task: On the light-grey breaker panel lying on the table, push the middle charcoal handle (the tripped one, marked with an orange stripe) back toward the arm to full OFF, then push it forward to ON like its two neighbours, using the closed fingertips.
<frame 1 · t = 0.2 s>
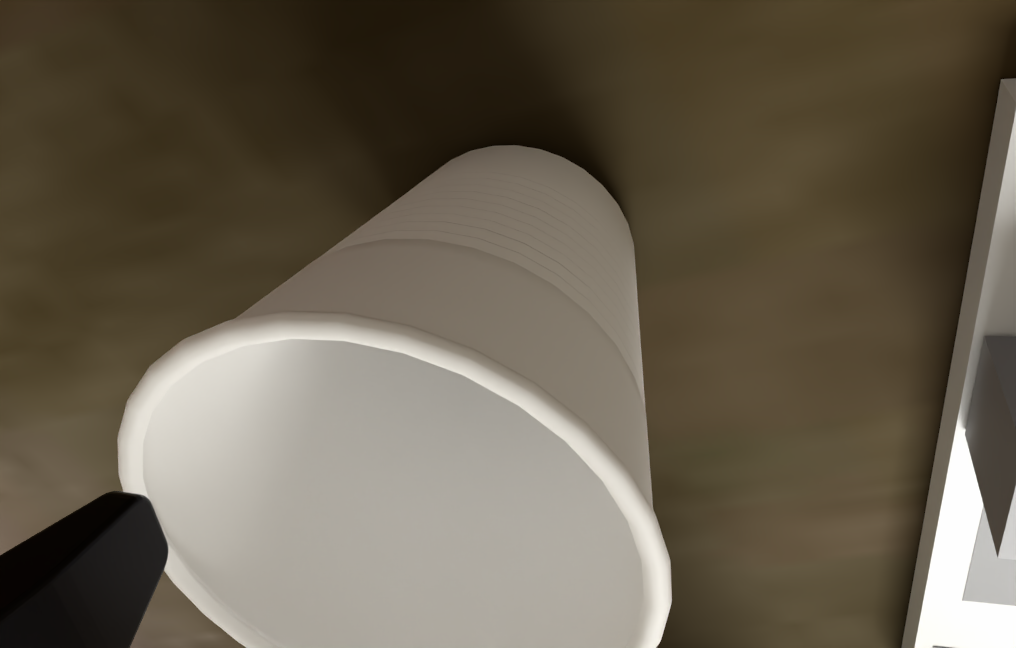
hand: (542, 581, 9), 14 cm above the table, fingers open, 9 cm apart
cup: (524, 241, 24), on the table
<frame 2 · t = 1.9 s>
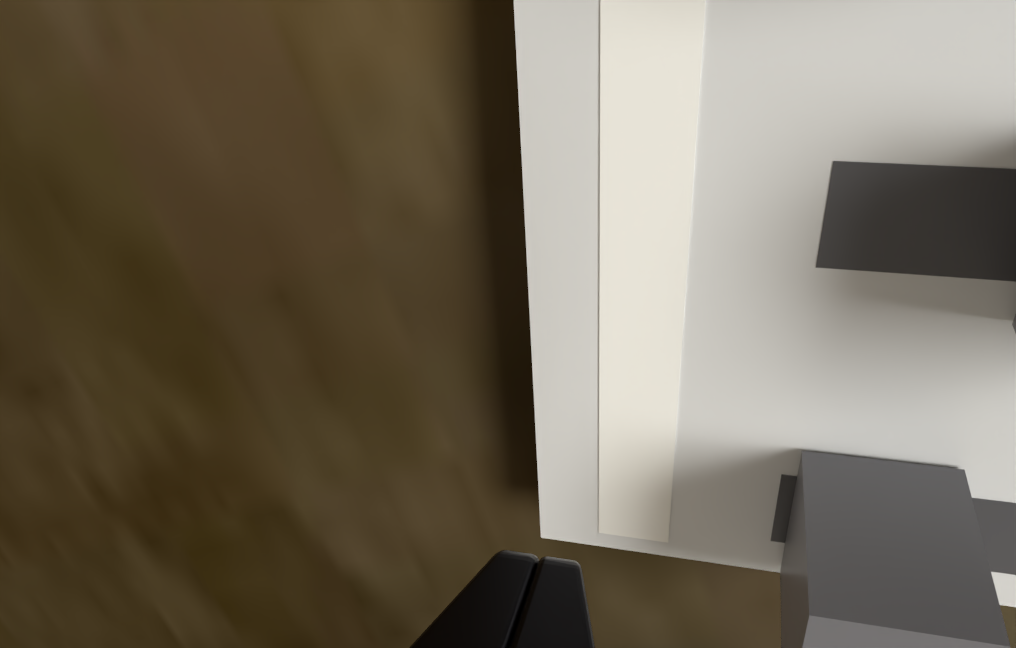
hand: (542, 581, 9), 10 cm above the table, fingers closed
breaker 2: (874, 601, 17), point 4 cm above the table, slide at 3.0 cm
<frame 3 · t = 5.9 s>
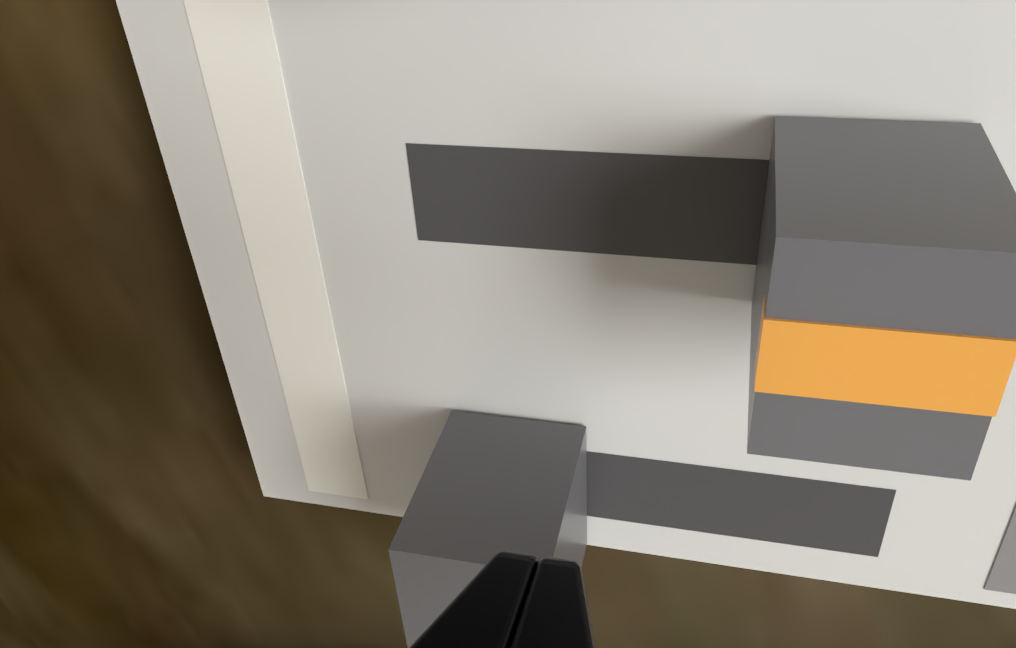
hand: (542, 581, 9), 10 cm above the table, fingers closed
breaker 2: (499, 545, 18), point 4 cm above the table, slide at 3.0 cm
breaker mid: (866, 286, 13), point 4 cm above the table, slide at -3.1 cm
panel: (677, 172, 17), on the table
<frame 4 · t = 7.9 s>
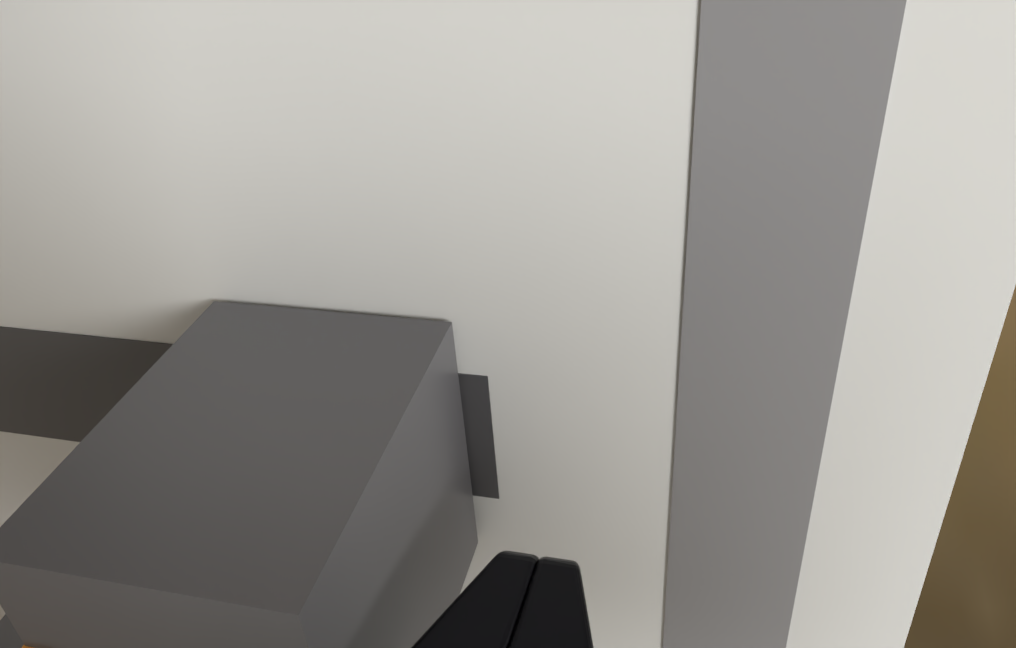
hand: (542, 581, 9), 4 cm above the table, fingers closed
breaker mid: (283, 549, 10), point 4 cm above the table, slide at -3.0 cm, touching gripper
panel: (210, 337, 13), on the table
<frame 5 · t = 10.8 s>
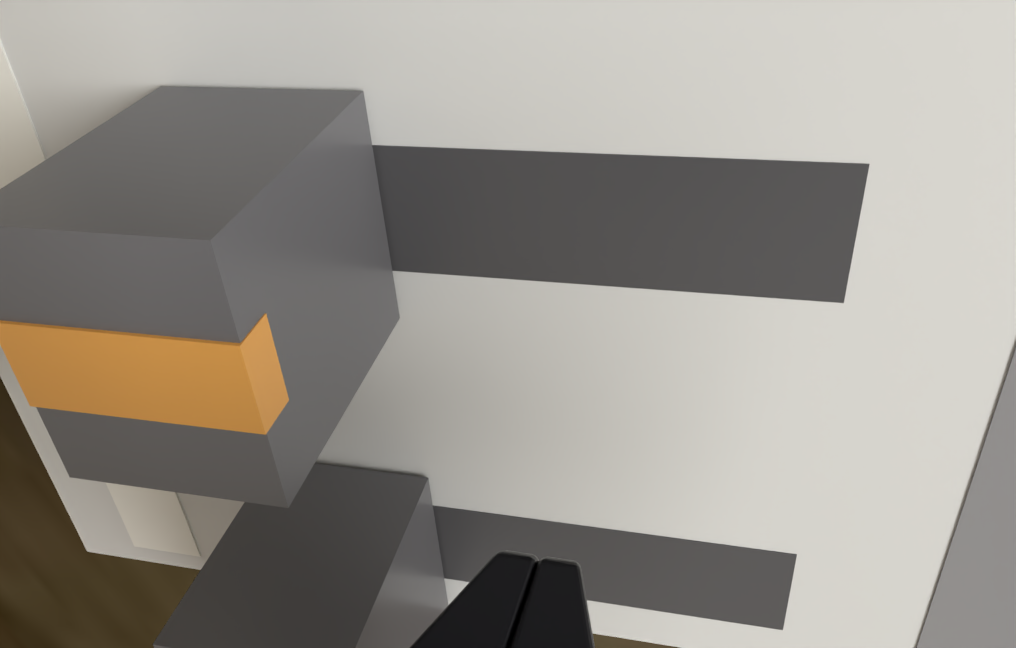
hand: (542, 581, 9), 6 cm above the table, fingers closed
breaker 2: (323, 623, 15), point 4 cm above the table, slide at 3.0 cm
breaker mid: (218, 281, 11), point 4 cm above the table, slide at 3.1 cm
panel: (514, 170, 13), on the table
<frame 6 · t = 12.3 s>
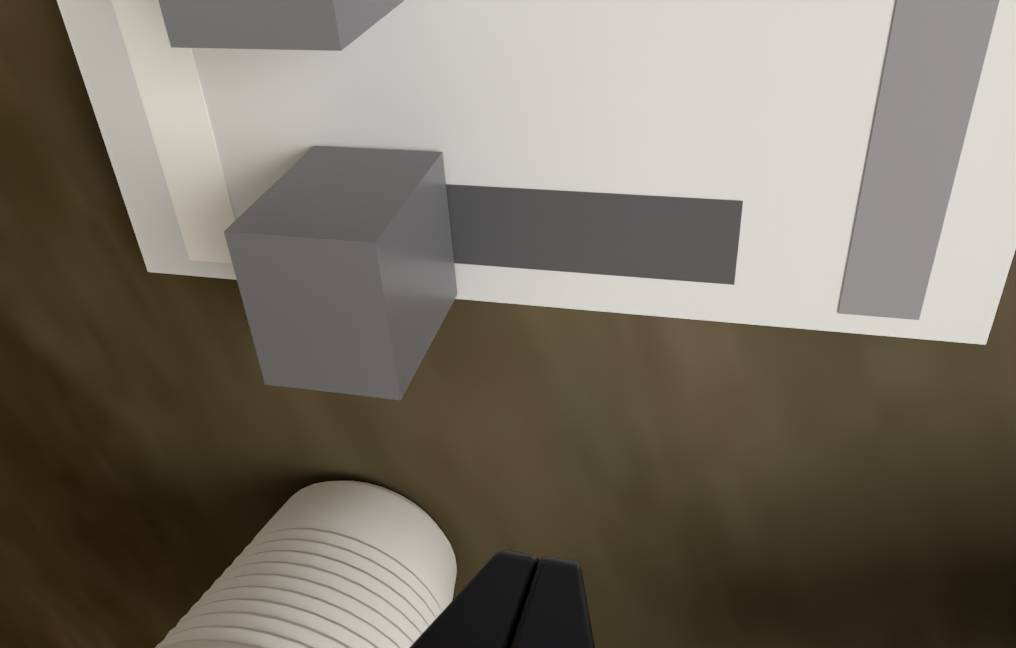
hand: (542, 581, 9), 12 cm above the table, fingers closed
breaker 2: (354, 266, 18), point 4 cm above the table, slide at 3.0 cm
cup: (374, 534, 29), on the table
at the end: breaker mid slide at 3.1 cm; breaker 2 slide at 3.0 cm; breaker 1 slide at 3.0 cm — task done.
